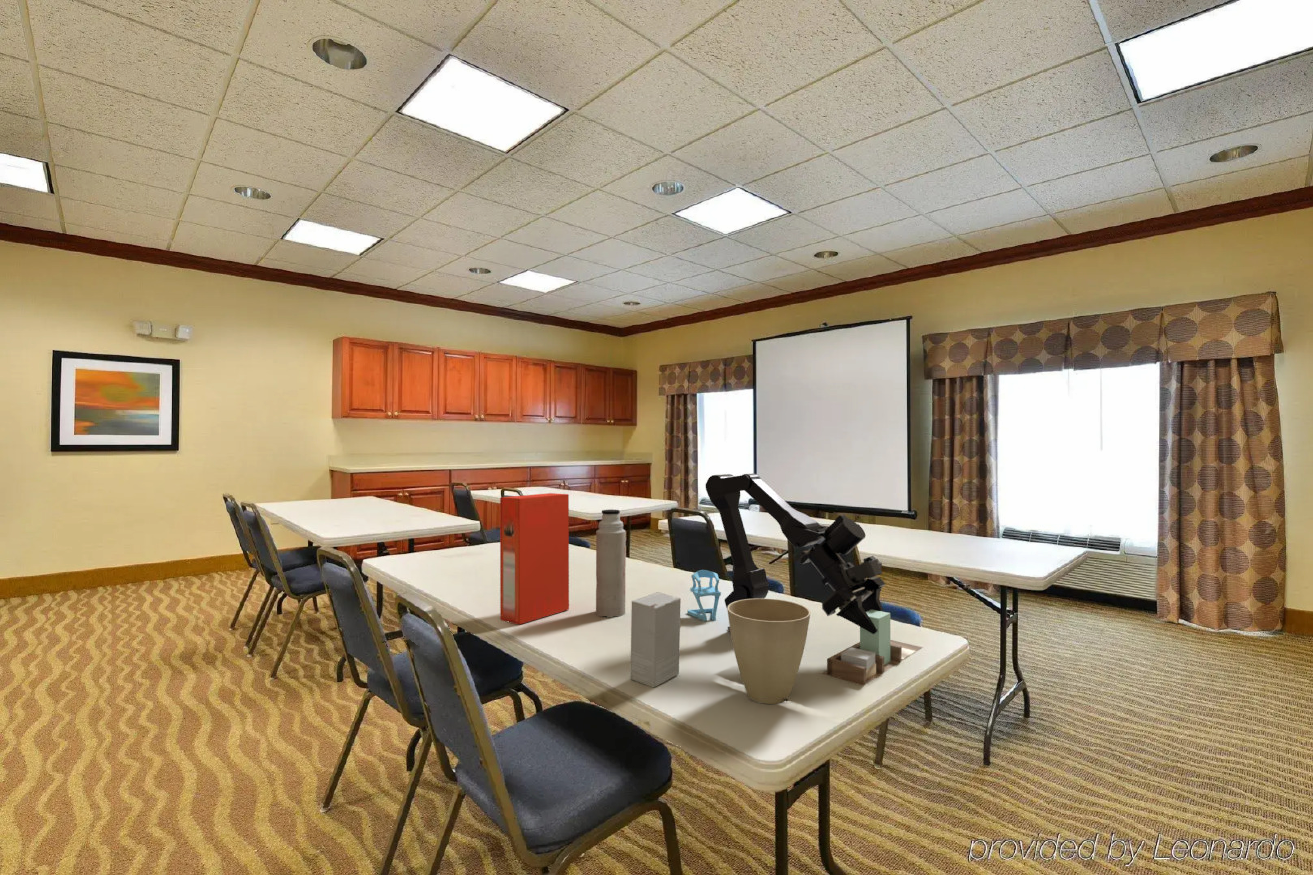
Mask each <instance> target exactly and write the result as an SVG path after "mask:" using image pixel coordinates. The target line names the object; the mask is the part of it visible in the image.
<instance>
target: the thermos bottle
mask: <svg viewBox="0 0 1313 875" xmlns="http://www.w3.org/2000/svg"><path fill="white" fill-rule="evenodd" d="M620 512H621V510H619V509H602V510H601V514H602V517H601V521H599V522H598V527H597V528H598V529H597V530H596V531H595V534H596V536H595V538H596V539H595V540H596V541H595V544H596V546H595V548H596V549H595V552H596V554H595V557H596V558H595V560H596V561H595V566H596V567H595V578H596V588H595V589H596V590H595V614H596V615H597V616H599V617H602V616H607V617H606V618H614V617H613V616H617V617H621V616H624V615H625V614H626V566H627V564H626V551H627V550H626V545H627V543H626V537H627V536H626V534H627V533H626V530H625V529H624V522H623V521H622V520H621V515H620Z"/></svg>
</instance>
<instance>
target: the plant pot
mask: <svg viewBox="0 0 1313 875" xmlns="http://www.w3.org/2000/svg"><path fill="white" fill-rule="evenodd" d="M726 609H727V616H728V623H729V627H730V630H729V631H730V637H731V641H732V647H733V652H734V656H735V660H736V663H737V666H738V672H739V674H740V676H741V681H742V683H743V687H744V690H745V692H746V694H747V696H748V698H749V699H750V700H752V701H754V702H756V703H760V704H765V705H777V704H782V703H785V702H786V701H787V699H788V698H787V697H788V696H790V695H791V692H792V690H793V687H794V684H795V682H796V678H797V675H798V672H799V669H800V666H801V662H802V658H803V655H804V650H805V648H806V647H805V646H806V644H807V643H806V642H807V637H808V631H809V625H810V617H811V611H810V609H809V608H807V607H806V606H804V605H803V604H801V603H798V602H797V603H796V602H793V601H789V600H784V599H777V598H764V599H744V600H739V601H735V602H732V603H731V604H729V605H728V607H727V608H726Z"/></svg>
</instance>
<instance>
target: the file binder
mask: <svg viewBox="0 0 1313 875" xmlns="http://www.w3.org/2000/svg"><path fill="white" fill-rule="evenodd" d="M569 500H570V499H569V493H553V492H552V493H551V492H549V493H538V494H527V495H526V494H525V495H515V496H503V497H500V498H499V504H500V506H499V507H500V508H499V509H500V510H499V511H500V512H499V516H500V517H499V519H500V520H499V521H500V522H499V523H500V524H499V525H500V527H499V530H500V531H499V532H500V533H499V537H500V538H499V540H500V541H499V542H500V543H499V544H500V547H499V549H500V550H499V552H500V556H499V557H500V558H499V562H500V563H499V566H500V568H499V574H500V579H499V580H500V584H499V586H500V587H499V588H500V589H499V596H500V599H499V600H500V602H499V604H500V607H499V609H500V614H499V615H500V616H499V617H500V621H503V622H506V621H509V622H508V623H510V622H511V623H512V624H514V625H523V624H525V623H529V622H533V621H536V620H539V619H542V617H543V618H544V617H545V616H546V617H549V616H552V615H555V613H556V614H558V613H561V612H566V611H569V610H570V588H569V587H570V575H569V574H570V551H569V550H570V540H569V538H570V537H569V536H570V533H569V530H570V529H569V527H570V524H569V523H570V521H569V520H570V519H569V518H570V515H569V514H570V508H569V504H570V503H569ZM565 610H566V611H565Z"/></svg>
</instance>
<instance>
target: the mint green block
mask: <svg viewBox="0 0 1313 875" xmlns="http://www.w3.org/2000/svg"><path fill="white" fill-rule="evenodd" d="M866 613H867V615H868V616H869V618H870V619H871V621H872V622H873V624H874V626H875V627H876V629H877V632H876V633H875V634H872V633H870V632H869V631H867V630H865V629H863V628H861V627H860V626H859V642H860V649H861V650H866V651H870V652H875V654H876V655H880V656H883V657H884V665H886V664H887V663H889V662H890V640H891V613H890V612H886V611H884V612H882V611H877V610H869V611H867V612H866Z"/></svg>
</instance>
